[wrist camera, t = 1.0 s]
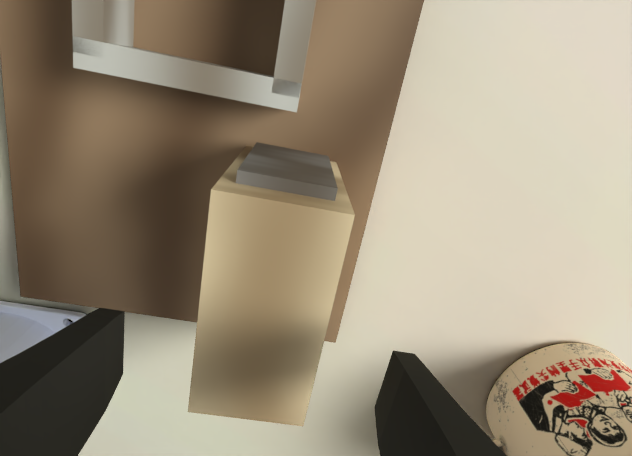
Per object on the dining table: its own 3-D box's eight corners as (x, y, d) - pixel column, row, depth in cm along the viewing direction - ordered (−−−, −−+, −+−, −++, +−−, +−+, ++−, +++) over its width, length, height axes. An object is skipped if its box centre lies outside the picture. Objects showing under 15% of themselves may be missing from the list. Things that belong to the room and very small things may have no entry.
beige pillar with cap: (225, 301, 20) (188, 411, 13) (247, 136, 17) (212, 175, 11) (303, 313, 20) (303, 426, 14) (338, 153, 17) (358, 201, 11)
